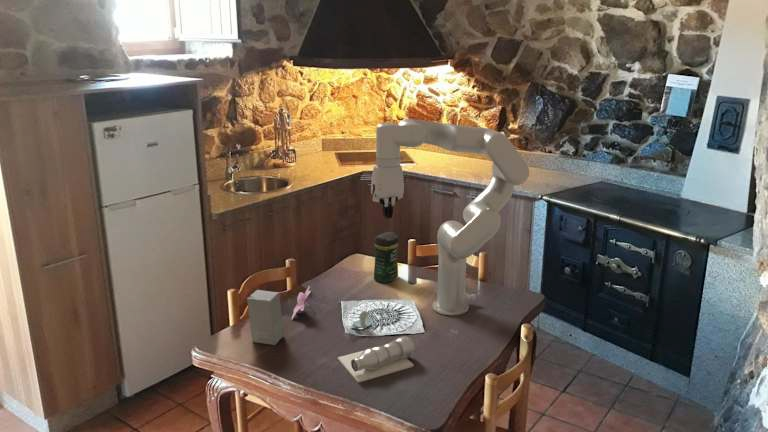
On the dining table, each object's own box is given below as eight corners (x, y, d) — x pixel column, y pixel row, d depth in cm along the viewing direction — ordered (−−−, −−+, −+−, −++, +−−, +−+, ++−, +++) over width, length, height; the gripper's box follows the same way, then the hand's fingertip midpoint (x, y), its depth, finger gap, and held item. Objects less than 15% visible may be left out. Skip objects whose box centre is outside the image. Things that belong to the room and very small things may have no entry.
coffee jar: (386, 285, 234) (387, 239, 228) (370, 280, 238) (370, 235, 232) (401, 277, 241) (402, 232, 235) (385, 272, 246) (385, 228, 240)
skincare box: (284, 336, 195) (282, 291, 191) (273, 347, 189) (270, 300, 184) (261, 332, 198) (258, 287, 193) (249, 342, 192) (246, 296, 187)
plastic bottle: (401, 337, 187) (345, 357, 176) (412, 331, 182) (354, 351, 171) (410, 357, 185) (353, 379, 174) (420, 352, 180) (363, 373, 169)
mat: (390, 345, 191) (390, 343, 190) (413, 366, 179) (413, 364, 179) (337, 359, 183) (337, 357, 182) (357, 382, 171) (357, 380, 171)
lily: (303, 306, 219) (289, 286, 215) (330, 299, 214) (316, 279, 210) (292, 330, 209) (277, 310, 205) (320, 323, 204) (305, 303, 200)
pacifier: (346, 328, 201) (359, 333, 198) (345, 311, 200) (359, 316, 196) (361, 320, 207) (374, 325, 203) (361, 303, 205) (374, 308, 201)
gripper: (402, 157, 201) (402, 211, 206) (361, 162, 194) (362, 217, 200) (414, 162, 194) (413, 217, 200) (372, 167, 188) (372, 223, 193)
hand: (387, 217), depth 200 cm, fingers closed
